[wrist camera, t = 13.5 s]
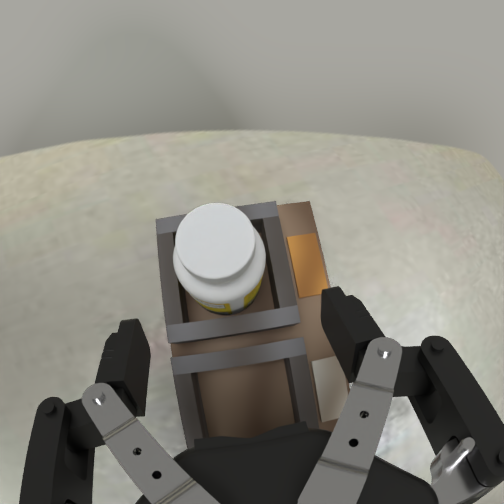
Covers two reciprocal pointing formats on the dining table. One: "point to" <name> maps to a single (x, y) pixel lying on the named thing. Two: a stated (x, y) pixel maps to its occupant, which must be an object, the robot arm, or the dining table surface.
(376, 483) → the robot arm
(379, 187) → the dining table surface
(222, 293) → the supplement bottle
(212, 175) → the dining table surface
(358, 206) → the dining table surface
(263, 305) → the socket board
